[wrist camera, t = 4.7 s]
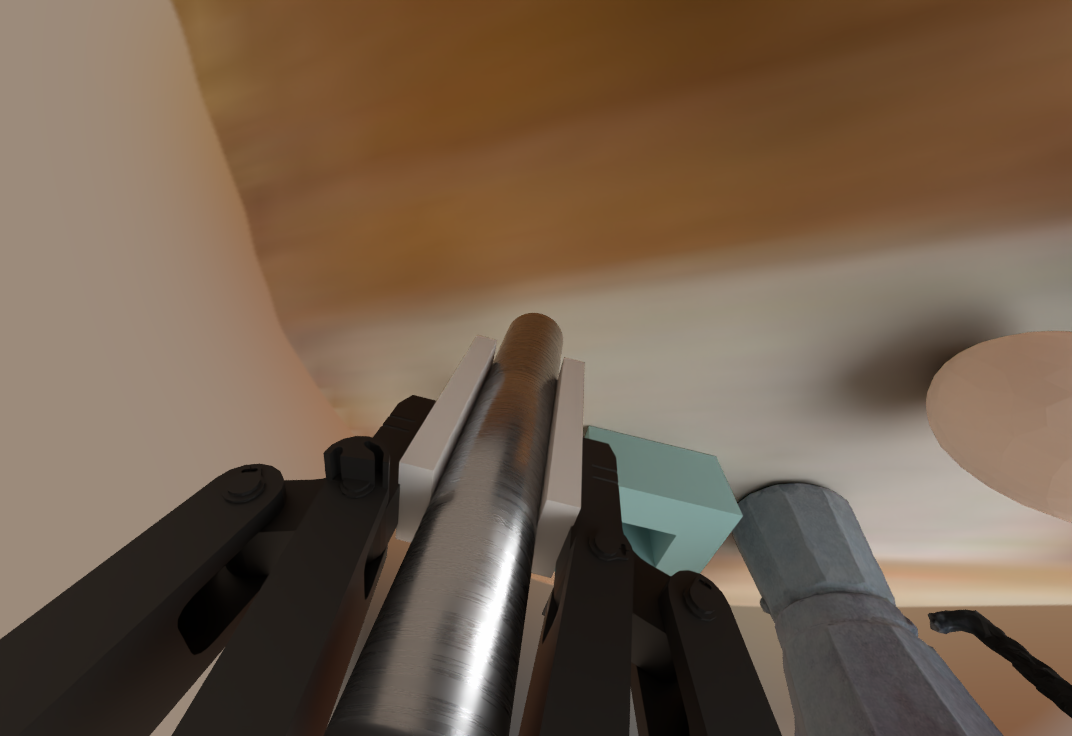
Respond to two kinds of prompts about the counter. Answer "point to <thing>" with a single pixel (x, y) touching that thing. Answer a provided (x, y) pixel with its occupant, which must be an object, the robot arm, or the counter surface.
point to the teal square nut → (671, 501)
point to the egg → (1010, 417)
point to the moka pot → (860, 627)
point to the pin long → (466, 565)
